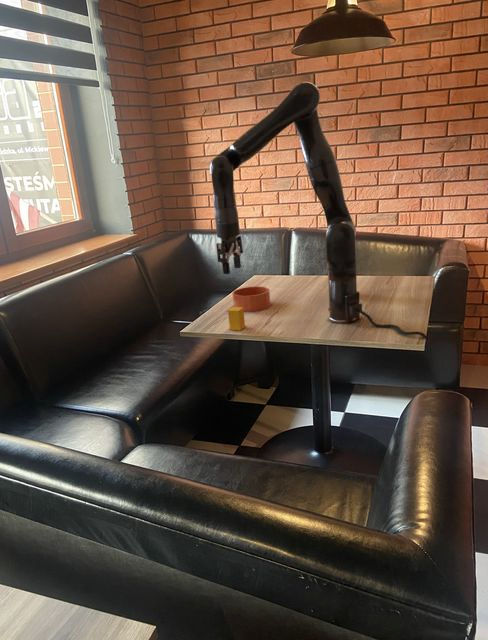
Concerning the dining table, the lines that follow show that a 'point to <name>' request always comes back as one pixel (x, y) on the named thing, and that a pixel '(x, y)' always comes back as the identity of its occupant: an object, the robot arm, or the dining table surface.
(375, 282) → the dining table surface
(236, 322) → the sponge
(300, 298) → the dining table surface
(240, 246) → the robot arm
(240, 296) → the crock
